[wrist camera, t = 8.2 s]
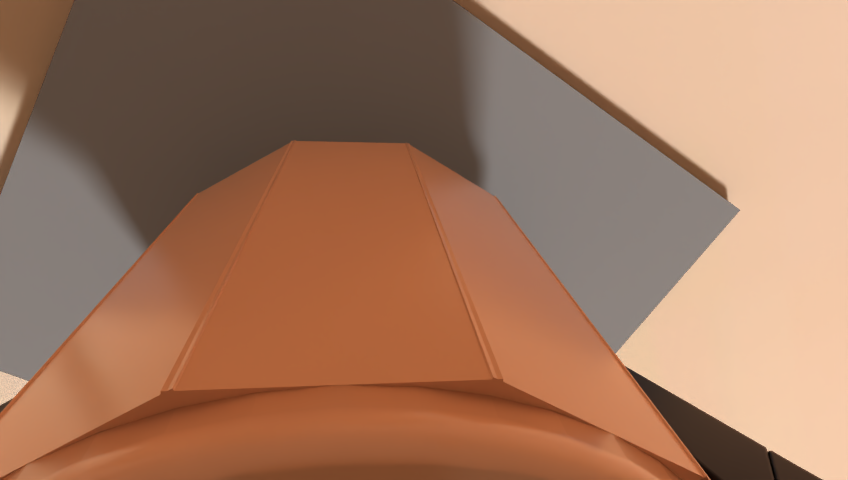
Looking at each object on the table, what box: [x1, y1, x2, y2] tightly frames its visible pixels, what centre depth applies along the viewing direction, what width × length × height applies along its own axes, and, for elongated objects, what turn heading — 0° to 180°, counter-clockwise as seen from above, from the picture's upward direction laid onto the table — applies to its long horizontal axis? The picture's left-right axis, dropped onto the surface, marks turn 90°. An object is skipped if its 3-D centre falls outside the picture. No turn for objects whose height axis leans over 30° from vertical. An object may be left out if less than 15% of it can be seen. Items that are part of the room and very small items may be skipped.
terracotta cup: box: [0, 140, 711, 480], centre depth 7 cm, size 7×7×7 cm
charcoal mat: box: [0, 0, 740, 381], centre depth 12 cm, size 14×12×1 cm
